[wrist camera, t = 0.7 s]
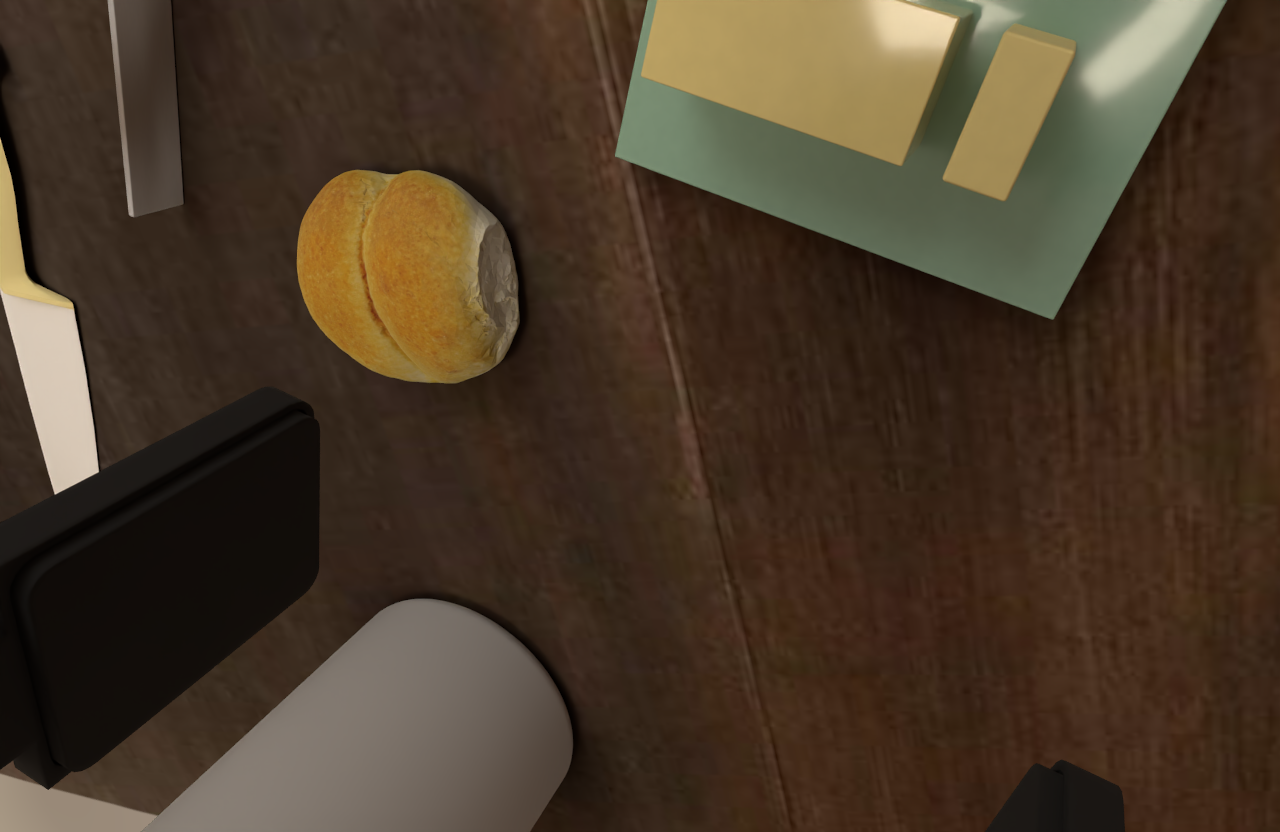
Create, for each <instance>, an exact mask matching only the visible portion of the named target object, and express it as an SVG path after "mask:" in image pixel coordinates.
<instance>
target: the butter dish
mask: <svg viewBox="0 0 1280 832" xmlns="http://www.w3.org/2000/svg"><path fill="white" fill-rule="evenodd" d="M1226 2H1227V0H648V2H647V7H646V11H645V16H644V21H643V25H642V30H641V35H640V40H639V44H638V49H637V54H636V59H635V63H634V68H633V73H632V78H631V82H630V87H629V92H628V96H627V101H626V106H625V111H624V115H623V120H622V125H621V130H620V134H619V139H618V144H617V149H616V153H615V157H617V158H620V159H623V160H625V161H628V162H631V163H633V164H636V165H639V166H641V167H644V168H647V169H649V170H652V171H655V172H658V173H660V174H663V175H666V176H668V177H671V178H674V179H676V180H679V181H682V182H684V183H687V184H690V185H692V186H695V187H698V188H700V189H703V190H706V191H708V192H711V193H714V194H716V195H719V196H722V197H724V198H727V199H730V200H733V201H735V202H738V203H741V204H743V205H746V206H749V207H751V208H754V209H757V210H759V211H762V212H765V213H767V214H770V215H773V216H775V217H778V218H781V219H783V220H786V221H789V222H791V223H794V224H797V225H800V226H802V227H805V228H808V229H810V230H813V231H816V232H818V233H821V234H824V235H826V236H829V237H832V238H834V239H837V240H840V241H842V242H845V243H848V244H850V245H853V246H856V247H858V248H861V249H864V250H866V251H869V252H872V253H875V254H877V255H880V256H883V257H885V258H888V259H891V260H893V261H896V262H899V263H901V264H904V265H907V266H909V267H912V268H915V269H917V270H920V271H923V272H925V273H928V274H931V275H933V276H936V277H939V278H941V279H944V280H947V281H950V282H952V283H955V284H958V285H960V286H963V287H966V288H968V289H971V290H974V291H976V292H979V293H982V294H984V295H987V296H990V297H992V298H995V299H998V300H1000V301H1003V302H1006V303H1008V304H1011V305H1014V306H1016V307H1019V308H1022V309H1025V310H1027V311H1030V312H1033V313H1035V314H1038V315H1041V316H1043V317H1046V318H1049V319H1051V320H1053V319H1054V318H1055V316H1056V314H1057V312H1058V311H1059V309H1060V307H1061V305H1062V303H1063V301H1064V300H1065V298H1066V296H1067V294H1068V292H1069V290H1070V288H1071V287H1072V285H1073V283H1074V281H1075V279H1076V277H1077V276H1078V274H1079V272H1080V270H1081V268H1082V266H1083V265H1084V263H1085V261H1086V259H1087V257H1088V255H1089V254H1090V252H1091V250H1092V248H1093V246H1094V244H1095V242H1096V241H1097V239H1098V237H1099V235H1100V233H1101V231H1102V230H1103V228H1104V226H1105V224H1106V222H1107V220H1108V219H1109V217H1110V215H1111V213H1112V211H1113V209H1114V208H1115V206H1116V204H1117V202H1118V200H1119V198H1120V197H1121V195H1122V193H1123V191H1124V189H1125V187H1126V185H1127V184H1128V182H1129V180H1130V178H1131V176H1132V174H1133V173H1134V171H1135V169H1136V167H1137V165H1138V163H1139V162H1140V160H1141V158H1142V156H1143V154H1144V152H1145V151H1146V149H1147V147H1148V145H1149V143H1150V141H1151V139H1152V138H1153V136H1154V134H1155V132H1156V130H1157V128H1158V127H1159V125H1160V123H1161V121H1162V119H1163V117H1164V116H1165V114H1166V112H1167V110H1168V108H1169V106H1170V105H1171V103H1172V101H1173V99H1174V97H1175V95H1176V93H1177V92H1178V90H1179V88H1180V86H1181V84H1182V82H1183V81H1184V79H1185V77H1186V75H1187V73H1188V71H1189V70H1190V68H1191V66H1192V64H1193V62H1194V60H1195V59H1196V57H1197V55H1198V53H1199V51H1200V49H1201V48H1202V46H1203V44H1204V42H1205V40H1206V38H1207V36H1208V35H1209V33H1210V31H1211V29H1212V27H1213V25H1214V24H1215V22H1216V20H1217V18H1218V16H1219V14H1220V13H1221V11H1222V9H1223V7H1224V5H1225V3H1226ZM1013 24H1020V25H1023V26H1027V27H1030V28H1033V29H1037V30H1040V31H1044V32H1047V33H1050V34H1054V35H1057V36H1061V37H1064V38H1067V39H1071V40H1074V41H1075V42H1076V52H1075V57H1074V59H1073V61H1072V63H1071V65H1070V67H1069V70H1068V72H1067V74H1066V76H1065V78H1064V80H1063V82H1062V84H1061V87H1060V89H1059V91H1058V93H1057V95H1056V97H1055V99H1054V101H1053V104H1052V106H1051V108H1050V110H1049V112H1048V114H1047V116H1046V118H1045V120H1044V123H1043V125H1042V127H1041V129H1040V131H1039V133H1038V135H1037V137H1036V140H1035V142H1034V144H1033V146H1032V148H1031V150H1030V152H1029V154H1028V157H1027V159H1026V161H1025V163H1024V165H1023V167H1022V169H1021V171H1020V174H1019V176H1018V178H1017V180H1016V182H1015V184H1014V186H1013V188H1012V190H1011V193H1010V195H1009V197H1008V199H1007V200H1006V201H1000V200H997V199H994V198H991V197H988V196H985V195H982V194H979V193H976V192H974V191H971V190H968V189H965V188H962V187H959V186H956V185H953V184H950V183H947V182H945V181H944V180H943V175H944V173H945V170H946V168H947V166H948V163H949V161H950V159H951V156H952V154H953V151H954V149H955V147H956V144H957V142H958V140H959V137H960V135H961V133H962V130H963V128H964V125H965V123H966V121H967V118H968V116H969V114H970V111H971V109H972V107H973V104H974V102H975V99H976V97H977V95H978V92H979V90H980V88H981V85H982V83H983V81H984V78H985V76H986V74H987V71H988V69H989V66H990V64H991V62H992V59H993V57H994V55H995V52H996V50H997V48H998V45H999V43H1000V40H1001V38H1002V36H1003V34H1004V33H1005V32H1006V31H1007V30H1008V29H1009V28H1010V27H1011V26H1012V25H1013Z"/></svg>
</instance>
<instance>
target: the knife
mask: <svg viewBox="0 0 1280 832" xmlns="http://www.w3.org/2000/svg"><path fill="white" fill-rule="evenodd" d="M0 292H1V296H2V300H3V303H4V307H5V311H6V315H7V319H8V322H9V326H10V330H11V334H12V338H13V341H14V345H15V349H16V353H17V357H18V361H19V365H20V369H21V372H22V376H23V380H24V384H25V388H26V392H27V396H28V399H29V403H30V407H31V411H32V415H33V418H34V422H35V426H36V429H37V433H38V436H39V440H40V444H41V447H42V451H43V455H44V458H45V462H46V466H47V469H48V473H49V476H50V480H51V483H52V486H53V490H54V493H55V494H57V493H59V492H61V491H63V490H65V489H67V488H69V487H71V486H73V485H75V484H77V483H78V482H80V481H82V480H84V479H86V478H88V477H90V476H92V475H94V474H96V473H98V472H99V467H98V458H97V449H96V440H95V431H94V423H93V417H92V410H91V404H90V397H89V391H88V384H87V377H86V371H85V365H84V360H83V355H82V349H81V344H80V339H79V334H78V328H77V323H76V318H75V313H74V307H73V303H72V302H71V301H70V300H69V299H67V298H65V297H63V296H61V295H59V294H57V293H55V292H53V291H51V290H49V289H46V288H44V287H42V286H40V285H38V284H36V283H35V282H34V281H33V280H32V279H31V278H30V277H29V276H28V274H27V272H26V270H25V264H24V258H23V252H22V245H21V239H20V233H19V226H18V218H17V209H16V201H15V194H14V189H13V184H12V178H11V174H10V170H9V167H8V163H7V160H6V156H5V153H4V150H3V146H2V143H1V139H0Z"/></svg>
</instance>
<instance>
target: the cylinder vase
mask: <svg viewBox="0 0 1280 832" xmlns="http://www.w3.org/2000/svg"><path fill="white" fill-rule="evenodd" d="M572 752H573V733H572V726H571V721H570V717H569V714H568V711H567V708H566V705H565V703H564V700H563V698H562V696H561V694H560V692H559V690H558V688H557V686H556V685H555V683H554V681H553V680H552V678H551V677H550V675H549V674H548V672H547V671H546V670H545V668H544V667H543V666H542V664H541V663H540V662H539V661H538V659H537V658H536V657H535V656H534V655H533V654H532V653H531V652H530V651H529V650H528V649H527V648H526V647H525V646H524V645H523V644H522V643H521V642H520V641H519V640H518V639H517V638H515V637H514V636H513V635H512V634H510V633H509V632H508V631H507V630H505V629H504V628H502V627H501V626H500V625H498V624H497V623H495V622H494V621H492V620H490V619H489V618H487V617H485V616H483V615H481V614H479V613H477V612H475V611H473V610H471V609H468V608H466V607H463V606H460V605H458V604H454V603H451V602H447V601H442V600H435V599H411V600H405V601H401V602H398V603H395V604H393V605H390V606H388V607H386V608H385V609H383V610H382V611H380V612H379V613H378V614H376V615H375V616H374V617H373V618H372V619H371V620H370V621H369V622H368V623H367V624H365V625H364V626H363V627H362V628H361V629H360V630H359V631H358V632H357V633H356V634H355V635H354V636H352V637H351V638H350V639H349V640H348V641H347V642H346V643H345V644H344V645H343V646H342V647H341V648H339V649H338V650H337V651H336V652H335V653H334V654H333V655H332V656H331V657H330V658H329V659H328V660H326V661H325V662H324V663H323V664H322V665H321V666H320V667H319V668H318V669H317V670H316V671H315V672H313V673H312V674H311V675H310V676H309V677H308V678H307V679H306V680H305V681H304V682H303V683H302V684H300V685H299V686H298V687H297V688H296V689H295V690H294V691H293V692H292V693H291V694H290V695H289V696H287V697H286V698H285V699H284V700H283V701H282V702H281V703H280V704H279V705H278V706H277V707H276V708H274V709H273V710H272V711H271V712H270V713H269V714H268V715H267V716H266V717H265V718H264V719H263V720H261V721H260V722H259V723H258V724H257V725H256V726H255V727H254V728H253V729H252V730H251V731H250V732H248V733H247V734H246V735H245V736H244V737H243V738H242V739H241V740H240V741H239V742H238V743H236V744H235V745H234V746H233V747H232V748H231V749H230V750H229V751H228V752H227V753H226V754H225V755H223V756H222V757H221V758H220V759H219V760H218V761H217V762H216V763H215V764H214V765H213V766H212V767H210V768H209V769H208V770H207V771H206V772H205V773H204V774H203V775H202V776H201V777H200V778H199V779H197V780H196V781H195V782H194V783H193V784H192V785H191V786H190V787H189V788H188V789H187V790H186V791H184V792H183V793H182V794H181V795H180V796H179V797H178V798H177V799H176V800H175V801H174V802H173V803H171V804H170V805H169V806H168V807H167V808H166V809H165V810H164V811H163V812H162V813H161V814H160V815H158V816H157V817H156V818H155V819H154V820H153V821H152V822H151V823H150V824H149V825H148V826H147V827H145V828H144V829H143V830H142V831H141V832H530V831H531V829H532V828H533V826H534V825H535V823H536V821H537V820H538V818H539V817H540V815H541V814H542V812H543V810H544V809H545V807H546V806H547V804H548V803H549V801H550V799H551V798H552V796H553V795H554V793H555V792H556V790H557V788H558V787H559V785H560V784H561V782H562V781H563V779H564V777H565V775H566V773H567V771H568V769H569V766H570V762H571V758H572Z"/></svg>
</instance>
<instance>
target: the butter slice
mask: <svg viewBox="0 0 1280 832" xmlns="http://www.w3.org/2000/svg"><path fill="white" fill-rule="evenodd" d="M1075 52H1076V42H1075V41H1074V40H1071V39H1067V38H1064V37H1061V36H1057V35H1054V34H1050V33H1047V32H1044V31H1040V30H1037V29H1033V28H1030V27H1027V26H1023V25H1020V24H1013V25H1012V26H1011V27H1010V28H1009V29H1008V30H1007V31H1006V32H1005V33H1004V34H1003V36H1002V38H1001V40H1000V43H999V45H998V48H997V50H996V52H995V55H994V57H993V59H992V62H991V64H990V66H989V69H988V71H987V74H986V76H985V78H984V81H983V83H982V85H981V88H980V90H979V92H978V95H977V97H976V99H975V102H974V104H973V107H972V109H971V111H970V114H969V116H968V118H967V121H966V123H965V125H964V128H963V130H962V133H961V135H960V137H959V140H958V142H957V144H956V147H955V149H954V151H953V154H952V156H951V159H950V161H949V163H948V166H947V168H946V170H945V173H944V175H943V180H944V181H945V182H947V183H950V184H953V185H956V186H959V187H962V188H965V189H968V190H971V191H974V192H976V193H979V194H982V195H985V196H988V197H991V198H994V199H997V200H1000V201H1006V200H1007V199H1008V197H1009V195H1010V193H1011V190H1012V188H1013V186H1014V184H1015V182H1016V180H1017V178H1018V176H1019V174H1020V171H1021V169H1022V167H1023V165H1024V163H1025V161H1026V159H1027V157H1028V154H1029V152H1030V150H1031V148H1032V146H1033V144H1034V142H1035V140H1036V137H1037V135H1038V133H1039V131H1040V129H1041V127H1042V125H1043V123H1044V120H1045V118H1046V116H1047V114H1048V112H1049V110H1050V108H1051V106H1052V104H1053V101H1054V99H1055V97H1056V95H1057V93H1058V91H1059V89H1060V87H1061V84H1062V82H1063V80H1064V78H1065V76H1066V74H1067V72H1068V70H1069V67H1070V65H1071V63H1072V61H1073V59H1074V57H1075Z"/></svg>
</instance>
